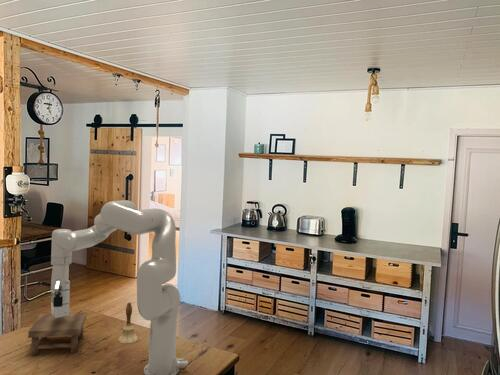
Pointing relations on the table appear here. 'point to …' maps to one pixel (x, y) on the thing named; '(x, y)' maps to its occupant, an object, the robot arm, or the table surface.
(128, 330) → the hand bell
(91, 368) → the table surface
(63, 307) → the syrup box
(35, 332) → the tan broad flat fixture
